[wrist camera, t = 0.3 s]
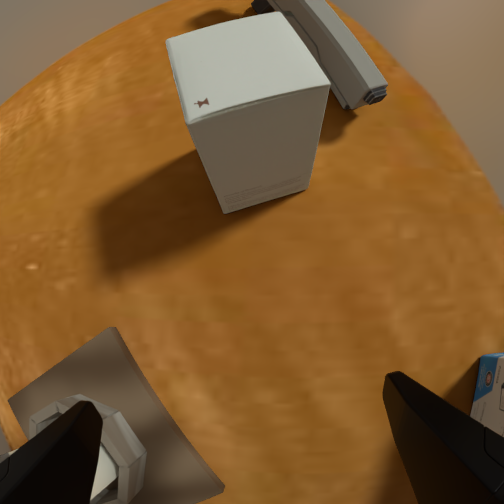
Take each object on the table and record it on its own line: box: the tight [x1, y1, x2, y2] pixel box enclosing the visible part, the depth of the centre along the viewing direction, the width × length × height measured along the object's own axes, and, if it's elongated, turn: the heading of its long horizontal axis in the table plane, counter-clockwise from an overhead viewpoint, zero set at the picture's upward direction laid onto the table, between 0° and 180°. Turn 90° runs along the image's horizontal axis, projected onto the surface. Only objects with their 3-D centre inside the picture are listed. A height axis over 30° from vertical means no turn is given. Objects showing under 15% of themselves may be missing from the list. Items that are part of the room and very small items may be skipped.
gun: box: [251, 0, 388, 110], centre depth 26 cm, size 2×25×10 cm, turn 25°
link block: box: [0, 441, 119, 500], centre depth 15 cm, size 5×5×12 cm
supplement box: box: [166, 12, 331, 214], centre depth 20 cm, size 7×7×13 cm
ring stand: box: [8, 327, 225, 504], centre depth 19 cm, size 16×16×5 cm
